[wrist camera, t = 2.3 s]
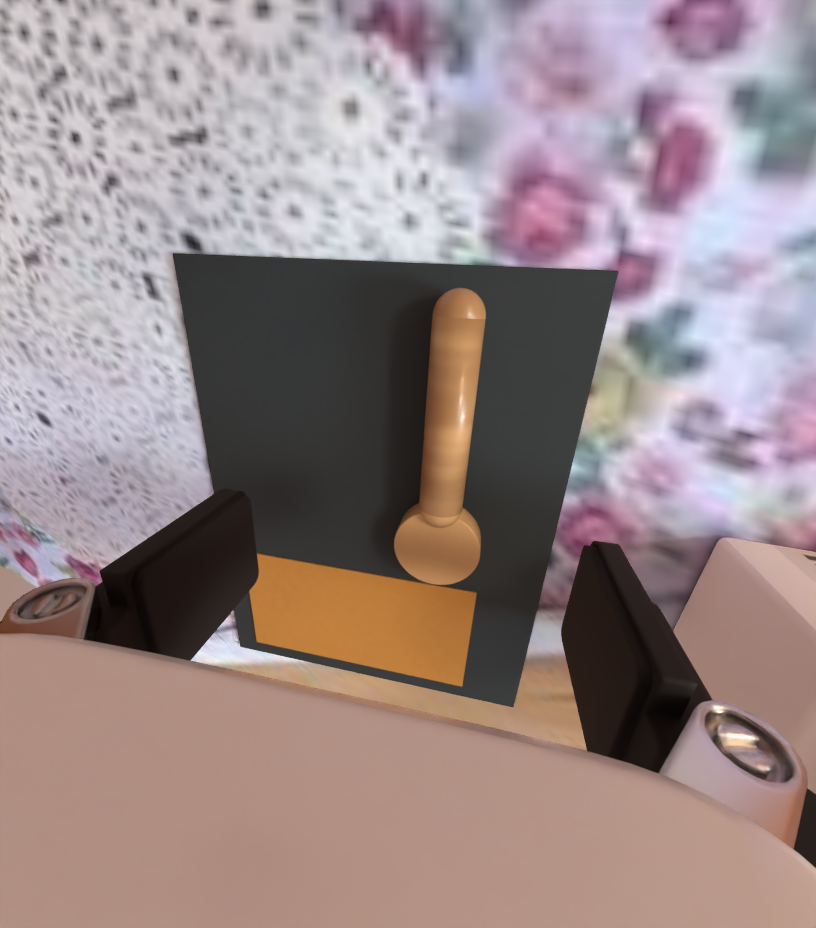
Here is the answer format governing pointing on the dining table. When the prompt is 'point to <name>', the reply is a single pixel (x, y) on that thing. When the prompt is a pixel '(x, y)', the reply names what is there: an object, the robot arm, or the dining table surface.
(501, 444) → the mat
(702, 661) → the container
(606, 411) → the dining table surface
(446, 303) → the wooden rod with disc
